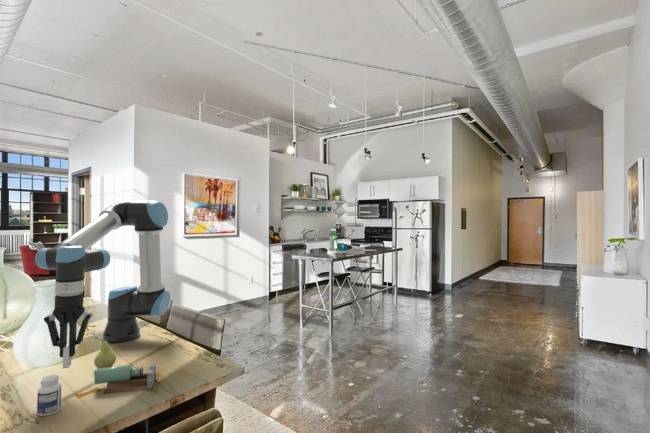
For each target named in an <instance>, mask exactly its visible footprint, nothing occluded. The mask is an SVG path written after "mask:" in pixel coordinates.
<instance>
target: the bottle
mask: <svg viewBox="0 0 650 433" xmlns="http://www.w3.org/2000/svg"><path fill="white" fill-rule="evenodd" d="M143 373H144V367H143V366H142V367H136V368H133V365H131V364H130V365H128V364H127V365H120V366H118V365H117V366H112V367H107V368H97V369H96V371H95V373H94V384H95V385H100V384H108V382H117V381H126V380H131V377H132V376H143Z"/></svg>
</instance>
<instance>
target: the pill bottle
mask: <svg viewBox="0 0 650 433" xmlns="http://www.w3.org/2000/svg"><path fill="white" fill-rule="evenodd" d="M59 377H60V376H59V375H57V374H53V375H48V376H45V377H42V378H41V380H40V387H39V388H38V389H37V402H36V404H37V407H36V413H37V416H39V417H46V416H51V415H54V414H56V413H57V412H59V411H60V409H61V406H62V383H60V382H59V380H60V379H59Z"/></svg>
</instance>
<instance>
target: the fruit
mask: <svg viewBox="0 0 650 433" xmlns="http://www.w3.org/2000/svg"><path fill="white" fill-rule="evenodd" d="M94 339H96V340H97V341H98V340H99V342H101V348H100V351H99V352H98V353H96V355H95V357H94V361H93V363H94V365H95V367H96V368H97V369H98V368H107V367H114V366H113V365H115V363H116V361H117V354H116V353H115V352H114V351H113V350H112V347H111V345H110V344H109V342H106V341H103V339H102V338H99V337H97V336H94Z"/></svg>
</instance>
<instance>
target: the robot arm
mask: <svg viewBox="0 0 650 433" xmlns="http://www.w3.org/2000/svg"><path fill="white" fill-rule="evenodd" d="M168 220H169V213H168V209H167V207H166V205H165V204H164V203H163V202H161V201H157V200H152V199H151V200H145V199H144V200H141V199H140V200H137V199H136V200H134V199H127V200H122V201H119V202H117V203H114V204H111V205H109V206H108V207H106V208H105V209H103V210H102V211H101V212H99V214H98V217H96V218H95V219H93V220H92V221H90V222H88V223H87V224H85V226H83V227H82V228H80V229H78V230H77V231H76V232H74V233H73V234H71V235H69V237H66V238H65V239H64V240H63V241H61V242H60V243H58V244H57V245H55V246H54V247H43V248H41V249H39V250H38V251H37V253H36V254H35V257H34V262H35V265H36V266H37V267H38V268H39V269H42V270H49V271H52V270H53V271H55V284H54V287H55V289H54V293H55V294H56V295H55V296H54V309H53V311H52V313H51V314H48V315H47V316H45V317H44V318H43V321H44V322H45V324H46V325H47V330H48V332H49V333H48V334H49V336H50V340H51V344H52V346H53V347H58V348H59V358H62V369H69V367H71V365H72V357H74V356H75V355H76V346H77V345H80V344H81V343H82V342H83V340H84V337H85V334H86V331H87V330H86V329H87V326H88V324H89V321H90V319H91V318H92V317H93V313H91V312H88V311H86V310H85V307H84V295H85V294H84V293H83V292H84V290H85V274H86V273H91V272H94V271H99V270H102V269H105V268H107V267H108V266H109V264H110V263H111V254H110V253H109V251H108V250H106V249H104V248H93V249H89V248H91V247H92V246H93V245H95V244H96V243H97V242H99V241H100V240H101V239H102V238H104V237H105V236H106V235H108V234H109V233H110V232H112V231H113V230H115V231H116V230H118V229H120V228H121V227H124V226H134V231H135V232H136V233H137V234H138V252H139V253H138V254H139V277H140V278H139V279H140V281H139V282H140V285H139V286H136V285H130V286H123V287H117V288H113V289H112V290H110V291H109V292H108V298H107V323H106V325H105V327H104V330H103V333H102V338H101V340H102V341H106V342H107V343H121V342H126V341H132V340H134V339H137V338H138V337H140V334H141V332H140V331H141V329H140V327H139V324H138V321H137V316H140V317H141V316H142V317H152V318H153V317H161V316H162V315H165V313H166V311H167V310H168V308H169V305H170V301H171V293H170V291H168V290H165V289H166V287H165V284H164V283H162V276H161V274H162V271H161V268H162V267H161V264H162V263H161V240H160V239H161V237H160V236H161V235H160V234H161V233H162V231H163V230H164V227H165V226H166V225H167V224H168ZM81 316H82V321H81V325H80V328H79V331H78V334H77V328H78V327H77V325H78V324H77V323H78V320H79V319H80V318H81ZM55 320H57V321H58V323H59V331H58V327H57V323H56V321H55ZM68 327H69V332H68ZM68 337H69V338H68Z"/></svg>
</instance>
